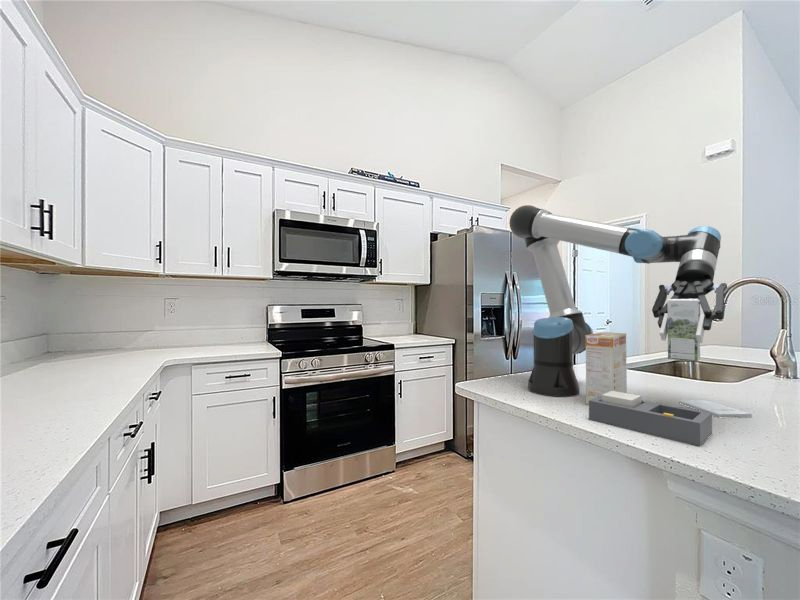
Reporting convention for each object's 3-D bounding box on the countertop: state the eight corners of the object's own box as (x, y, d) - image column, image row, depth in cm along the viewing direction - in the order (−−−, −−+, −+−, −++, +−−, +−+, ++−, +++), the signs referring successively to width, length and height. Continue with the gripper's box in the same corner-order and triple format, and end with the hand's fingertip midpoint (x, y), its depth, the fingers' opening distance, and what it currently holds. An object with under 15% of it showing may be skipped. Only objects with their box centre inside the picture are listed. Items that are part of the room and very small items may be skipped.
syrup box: (700, 359, 85) (700, 298, 85) (698, 362, 80) (697, 298, 81) (671, 356, 89) (670, 298, 89) (667, 359, 84) (666, 298, 85)
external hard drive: (707, 405, 100) (752, 419, 87) (678, 405, 99) (720, 420, 87) (706, 399, 100) (752, 413, 87) (678, 400, 100) (719, 413, 87)
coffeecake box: (601, 394, 109) (601, 331, 109) (628, 399, 104) (627, 333, 104) (584, 404, 99) (584, 334, 99) (613, 410, 93) (613, 336, 94)
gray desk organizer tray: (588, 419, 86) (588, 394, 86) (606, 410, 93) (606, 387, 93) (700, 446, 70) (700, 415, 70) (712, 433, 76) (711, 406, 76)
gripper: (747, 280, 87) (738, 352, 77) (655, 283, 102) (636, 344, 91) (744, 256, 84) (734, 329, 73) (649, 263, 98) (629, 324, 88)
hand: (680, 337), depth 82 cm, fingers closed on syrup box, 6 cm apart
